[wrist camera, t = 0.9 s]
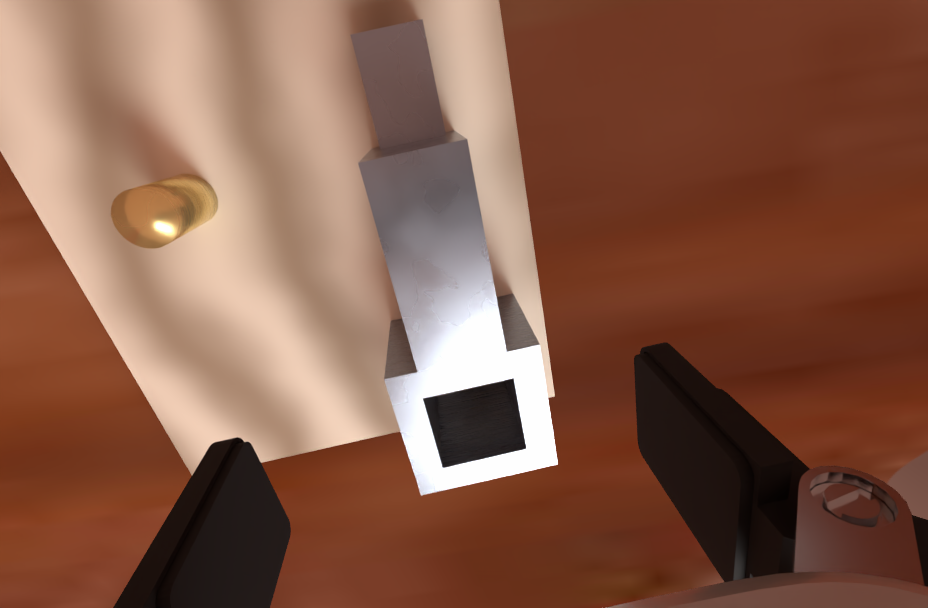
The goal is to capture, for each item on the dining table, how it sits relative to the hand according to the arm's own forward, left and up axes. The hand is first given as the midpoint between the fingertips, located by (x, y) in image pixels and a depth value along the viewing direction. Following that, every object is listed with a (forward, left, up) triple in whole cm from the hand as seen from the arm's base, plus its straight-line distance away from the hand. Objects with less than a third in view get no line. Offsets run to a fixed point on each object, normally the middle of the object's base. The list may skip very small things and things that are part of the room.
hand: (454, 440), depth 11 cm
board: (+6, -5, -17) cm, 18 cm away
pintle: (+11, -5, -17) cm, 20 cm away
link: (0, 0, -15) cm, 15 cm away
